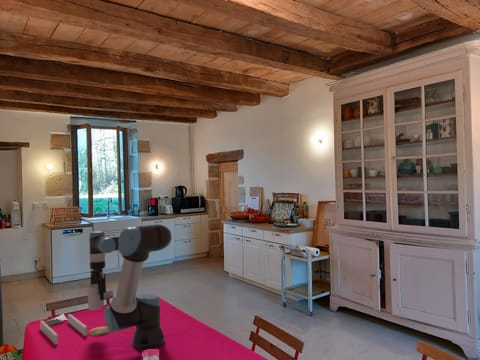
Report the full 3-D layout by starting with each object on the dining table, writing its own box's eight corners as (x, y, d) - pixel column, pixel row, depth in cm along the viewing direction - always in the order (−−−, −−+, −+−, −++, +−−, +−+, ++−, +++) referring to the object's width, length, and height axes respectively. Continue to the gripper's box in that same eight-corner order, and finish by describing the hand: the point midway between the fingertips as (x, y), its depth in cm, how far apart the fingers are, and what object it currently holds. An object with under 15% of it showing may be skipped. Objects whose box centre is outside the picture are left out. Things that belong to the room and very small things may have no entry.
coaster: (114, 331, 198) (114, 330, 198) (93, 338, 191) (93, 336, 191) (106, 325, 206) (106, 324, 206) (85, 331, 199) (85, 330, 199)
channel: (87, 335, 194) (86, 326, 194) (55, 344, 183) (55, 335, 183) (70, 321, 213) (69, 313, 213) (40, 329, 203) (40, 321, 203)
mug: (94, 311, 192) (93, 288, 191) (85, 309, 195) (84, 286, 195) (109, 305, 201) (108, 282, 200) (100, 303, 204) (99, 281, 203)
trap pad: (62, 323, 211) (62, 321, 211) (47, 326, 206) (47, 325, 206) (58, 319, 217) (58, 318, 217) (43, 322, 212) (43, 321, 212)
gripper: (112, 262, 193) (113, 307, 193) (96, 257, 207) (97, 298, 207) (98, 264, 188) (99, 310, 188) (83, 259, 202) (84, 302, 202)
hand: (98, 304), depth 197 cm, fingers closed on mug, 6 cm apart
